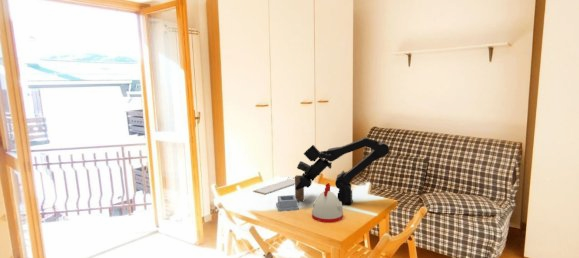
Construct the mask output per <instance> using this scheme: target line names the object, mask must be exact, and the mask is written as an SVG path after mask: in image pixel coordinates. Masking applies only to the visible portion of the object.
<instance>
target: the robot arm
mask: <svg viewBox="0 0 579 258" xmlns="http://www.w3.org/2000/svg"><path fill="white" fill-rule="evenodd" d="M365 147H366V148H369V149H371V151H370V152H369V154H367V156H365V157H364V158H363V159H361V160H360V161H359V162H358V163H356V165H354V166H353V167H352V168H350V169H349V170H348V171H346V172H345V170H342V171H341V172H340V173H339V174H337V176H336V179H335V183H334V185H335V187H336V189H338V193H337V198H338V199H339V201H340V202H342V205H347V206H352V203H354V200H353V190H352V184H351V182H352V181H353V179H354V178H355V177H356V176H358V174H360V173H362V172H363V171H364V170H365V169H366V168H368V167H369V166H370V165H371V164H373V163H374V162H375V161H377V160H380V159H382V158H383V157H385V156H387V155H389V153H390V147H389V145H388V143H386V142H385V141H377V140H374V139H371V138H369V137H363V138H361V139H359V140H356V141H353V142H350V143H348V144H345V145H343V146H336V147H332V148H328V149H327V150H321V151H320V150H318V148H317V147H316V146H315V145H314V144H312V145H310V147H309V148H307V149H306V150H305V151H304V153H303V155H304V156H305V157H306V158H307V159H308V160H309V161H310V162H314V163H312V164H307V162H304V161H299V162H298V164H297V167H296V168H297V170H301V171H302V172H303V173H302V174H301V177H300V178H299V180H300V182H299V184H298V185H297V187H296V190H298V189H301V188H304V189H305V188H308V189H309V188H310V187H311V185H312V183H313V181H314V180H315V179H316V178H317V177H318V176H320V175H321V173H322V172H323V171H324V170H325V169H327V167H328V169H330V170H331V169H332V162H334V161H336V160H337V159H340V158H341V157H342V156H344V155H345V154H348V153H351V152H353V151H357V150H359V149H362V148H365Z"/></svg>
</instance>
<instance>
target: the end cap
mask: <svg viewBox="0 0 579 258" xmlns="http://www.w3.org/2000/svg"><path fill="white" fill-rule="evenodd" d="M275 204H276V208H277V211H278V212H287V211H288V212H289V211H299V210H300V207H299V205H298V201H297V199H296V197H295V194H289V195H278V196H277V202H275Z"/></svg>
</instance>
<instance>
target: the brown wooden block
mask: <svg viewBox="0 0 579 258" xmlns="http://www.w3.org/2000/svg"><path fill="white" fill-rule="evenodd" d="M301 176H302V174H300V175H299V174H297V175H295V176H294V180H295V185H294V195H295V197H296V199H297V202H299V201H301V203H304V201H305V187H304V188H301V189H298V190H296V187H297V185H298V184H299V182H300V180H299V178H300V177H301Z"/></svg>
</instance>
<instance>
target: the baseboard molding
mask: <svg viewBox="0 0 579 258" xmlns="http://www.w3.org/2000/svg"><path fill="white" fill-rule="evenodd" d="M294 184H295V177H292V178H290V177H289V176H288V178H287V179H285V180H281V181H279V182H276V183H271V184H269V185H267V186H263V187H260V188H258V189H253V190H252V192H253V193H257V194H260V195H269V194H272V193H275V192H277V191H280V190H283V189H286V188H289V187H291V186H295V185H294Z"/></svg>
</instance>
